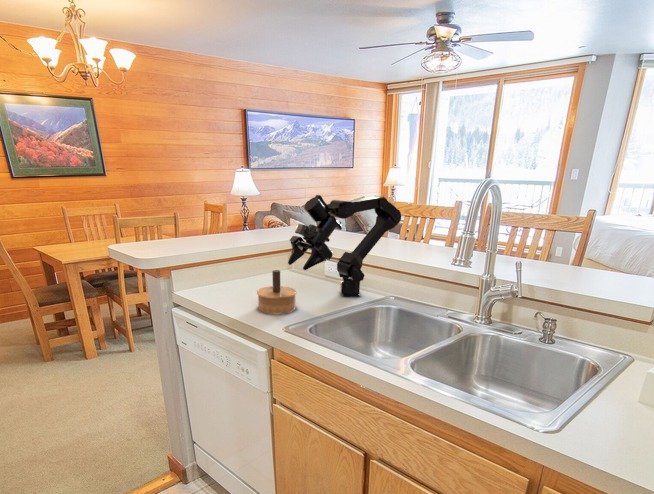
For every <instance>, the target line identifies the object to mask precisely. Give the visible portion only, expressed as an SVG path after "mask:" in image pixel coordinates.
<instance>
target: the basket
mask: <svg viewBox="0 0 654 494" xmlns="http://www.w3.org/2000/svg"><path fill="white" fill-rule="evenodd" d="M257 302H258V310H259V311H260V312H262V313H264V314H268V315H284V314H289V313H292V312H294V311H295V310H296V295H294V296H292V297H289V298H281V299H271V298H264V297H261V296H259V295H257Z"/></svg>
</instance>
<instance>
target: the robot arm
mask: <svg viewBox="0 0 654 494" xmlns="http://www.w3.org/2000/svg"><path fill="white" fill-rule="evenodd" d="M303 208H304V210H305V212H306V213H307V214H308V215H309V217H310V218H311V219H312V221H313V222H315V223H316V222H318V223H317V224H316V225H314V224H312V223H311V224H308V225H306V224H303V223H297V224H296V228H295V231H294V233H295V234H298V235H300V236H298V235H292V236H291V238H290V239H289V242H290V245H291V253H290V255H289V258H288V261H287V264H288V265H289V266H292V265H293V264H294V263H296V262H297V261H298V260H299V259H300V258H302V257H303V256H305V253H306V252H307V251H308V250H310V252H311V253H310V255H309V257H308V258H307V260H306V262H305V263H304V265H303V266H302V269H303V271H307V270H309V269H311V268H313V267H315V266H317V265H319V264H321V263H323V262H326V261H330V260H331V259H332V257H333V255H334V254H333V253H334V252H333V251H332V249H331V248H330V247H329V246H328V244H326V243H329V242H330V241H331V240H330V237H331V236H332V234H333V232H335V230H338V231H342V230H343V227H342V221H338V220H337V219H342V220H343V219H344V220H345V219H349V218H350V217H352V216H354V214H357V213H360V212H366V211H370V210H374V213H375V215H377V216H376V218H375V223H374V225H373V226H372V228H371V229H369V231H368V232H367V233H366V235H365V236H364V237H363V238H362V240H361V241H360V242H359V243H358V245H357V246H356V247H355V248H354V250H352V251H351V252H348V251H344V253H342V255H341V257H340V258H338V259H337V260H338V262H337V263H336V270H337V273H338V276H339V277H340V278H342V281H340V294H341V295H342V297H345V298H346V297H349V298H350V297H361V294H360V289H361V281H363V280H364V279H365V276H366V275H365V273H364V272H363V271H362V270H361V269H362V267H363V263H364V259H365V258H366V257H367V255H369V253H370V252H371V251H372V249H373V248H375V246H376V244H377V243H378V242H379V241H380V239H381V238H382V237H383V236H384V235H385V234H386V233H387V232H388V231H391V230H392V229H394V228H396V226H398V225H399V223H401V222H402V221H401V220H402V212H401V211H400V209H398V208H397V207H396V206H395V205H394V204H392V203H391V202H389V200H388V199H387V198H386V197H385V196H381V195H374V196H370V197H364V198H359V199H354V200H343V199H333V200H331V201H330V202H329V203H327V202H325V200H324V199H323V197H322V195H321V194H316V195H314V196H313V197H312V198H310V199H309V200H307V201H306V202H305V204H304V206H303Z"/></svg>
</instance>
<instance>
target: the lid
mask: <svg viewBox="0 0 654 494" xmlns="http://www.w3.org/2000/svg"><path fill="white" fill-rule="evenodd" d="M271 272H272V286H263V287H261V288H259V289H257V290H256V295H257V296H258V295H259V296H261V297H264V298H271V299H281V298H289V297H292V296H294V295H295V296H296V295H297V290H296V289H295V288H293V287H289V286H281V270H279V269H273V270H272V271H271Z"/></svg>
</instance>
